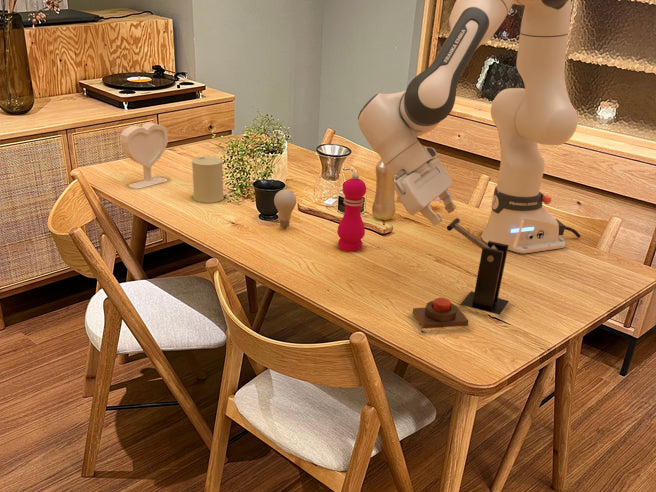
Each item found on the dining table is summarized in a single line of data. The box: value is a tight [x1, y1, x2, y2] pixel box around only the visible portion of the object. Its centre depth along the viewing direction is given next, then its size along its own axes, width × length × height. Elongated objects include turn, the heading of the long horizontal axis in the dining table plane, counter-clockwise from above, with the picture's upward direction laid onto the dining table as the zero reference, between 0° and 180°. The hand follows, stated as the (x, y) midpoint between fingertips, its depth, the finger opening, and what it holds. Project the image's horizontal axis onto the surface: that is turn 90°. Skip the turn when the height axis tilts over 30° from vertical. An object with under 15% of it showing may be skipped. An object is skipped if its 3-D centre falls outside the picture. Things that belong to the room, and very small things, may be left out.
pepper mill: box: [336, 172, 367, 253], centre depth 181 cm, size 7×7×20 cm
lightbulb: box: [273, 188, 297, 230], centre depth 193 cm, size 6×6×11 cm
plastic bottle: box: [371, 158, 396, 221], centre depth 200 cm, size 6×7×20 cm
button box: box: [412, 300, 469, 334], centre depth 151 cm, size 10×7×4 cm
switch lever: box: [446, 217, 501, 251], centre depth 153 cm, size 13×6×2 cm, turn 61°
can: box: [191, 155, 225, 204], centre depth 212 cm, size 9×9×12 cm
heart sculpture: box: [119, 122, 169, 189], centre depth 220 cm, size 16×5×18 cm, turn 138°
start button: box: [433, 297, 452, 312], centre depth 149 cm, size 4×4×2 cm
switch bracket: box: [460, 241, 509, 316], centre depth 155 cm, size 9×8×15 cm
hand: (445, 217), depth 154 cm, fingers open, 8 cm apart
